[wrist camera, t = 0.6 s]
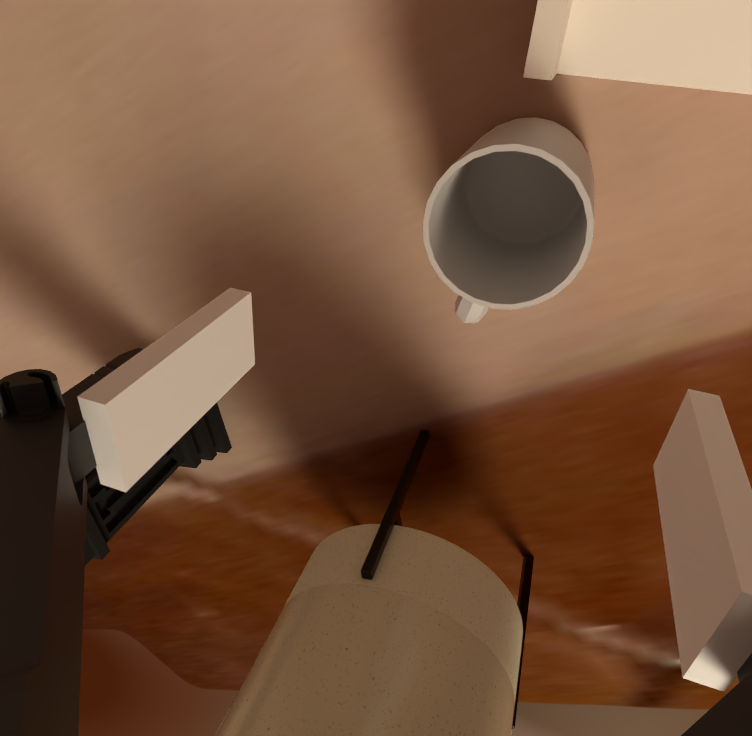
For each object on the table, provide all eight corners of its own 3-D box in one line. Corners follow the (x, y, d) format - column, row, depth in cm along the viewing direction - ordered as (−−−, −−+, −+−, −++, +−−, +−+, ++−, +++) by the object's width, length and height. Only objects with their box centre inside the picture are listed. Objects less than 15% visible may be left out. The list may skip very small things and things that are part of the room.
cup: (620, 143, 29) (629, 182, 21) (535, 305, 34) (520, 379, 27) (489, 94, 29) (456, 116, 22) (428, 261, 35) (385, 321, 28)
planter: (528, 433, 39) (470, 799, 21) (540, 588, 47) (504, 962, 28) (334, 426, 45) (149, 709, 26) (371, 565, 52) (247, 865, 33)
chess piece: (130, 367, 49) (-98, 534, 33) (206, 370, 46) (-3, 554, 30) (160, 440, 53) (-32, 622, 37) (231, 447, 50) (58, 647, 34)
